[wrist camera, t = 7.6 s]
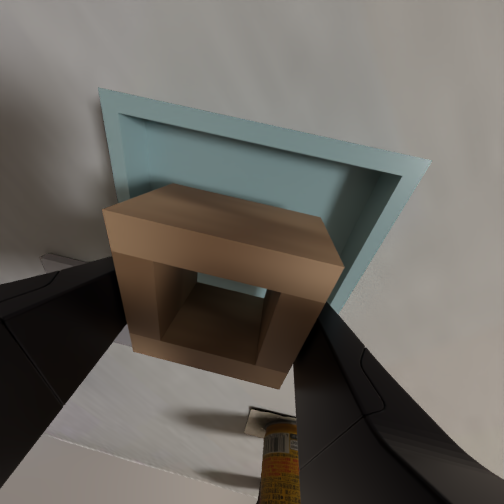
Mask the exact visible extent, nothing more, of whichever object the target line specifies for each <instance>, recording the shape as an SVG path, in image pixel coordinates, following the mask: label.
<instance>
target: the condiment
mask: <svg viewBox="0 0 504 504" xmlns="http://www.w3.org/2000/svg"><path fill="white" fill-rule="evenodd" d="M277 417H278V418H277ZM261 428H263V429H261ZM244 433H245V434H249V435H253V436H257V437H259V438H264V447H263V461H262V472H261V490H260V502H259V504H301V499H300V481H299V471H300V470H299V460H298V442H297V423H296V418H290V417H282V416H280V415H276V414H273V413H269V412H259V411H257V410H252V409H251V412H250V415H249V418H248V421H247V424H246V427H245V431H244Z"/></svg>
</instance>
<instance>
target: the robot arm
mask: <svg viewBox="0 0 504 504" xmlns="http://www.w3.org/2000/svg"><path fill="white" fill-rule="evenodd" d="M126 324H127V321H126V316H125V312H124V307H123V302H122V298H121V293H120V289H119V284H118V280H117V275H116V271H115V266H114V262H113V257H112V256H111V257H107V258H104V259H100V260H96V261H92V262H88V263H85V264H81V265H77V266H73V267H69V268H66V269H62V270H61V271H59V270H58V271H54V272H50V273H47V274H43V275H39V276H35V277H31V278H27V279H23V280H18V281H14V282H10V283H5V284H1V285H0V488H1V487H2V486H3V484H4V483H5V482H6V481H7V479H8V478H9V476H10V475H11V474H12V473H13V471H14V470H15V469H16V468H17V466H18V465H19V464H20V462H21V461H22V460H23V459H24V457H25V456H26V454H27V453H28V452H29V451H30V449H31V448H32V447H33V445H34V444H35V443H36V442H37V440H38V439H39V438H40V436H41V435H42V434H43V433H44V431H45V430H46V429H47V427H48V426H49V425H50V423H51V422H52V421H53V420H54V418H55V417H56V416H57V414H58V413H59V412H60V410H61V409H62V408H63V405H65V404H66V402H67V401H68V400H69V398H70V397H71V396H72V395H73V393H74V392H75V391H76V389H77V388H78V387H79V385H80V384H81V383H82V382H83V380H84V379H85V378H86V376H87V375H88V374H89V372H90V371H91V370H92V369H93V367H94V366H95V365H96V363H97V362H98V361H99V359H100V358H101V357H102V356H103V354H104V353H105V352H106V350H107V349H108V348H109V347H110V345H111V344H112V343H113V341H114V340H115V339H116V337H117V336H118V335H119V334H120V332H121V331H122V330H123V328H124V327H125V326H126ZM293 368H294V387H295V405H296V423H297V442H298V460H299V470H300V471H299V481H300V499H301V504H504V480H503V479H502V478H500V477H499V476H497V475H495V474H494V473H492V472H491V471H489V470H488V469H487V468H485V467H484V466H482V465H481V464H479V463H478V462H477V461H476V460H474V459H473V458H472V457H471V456H469V455H468V454H467V453H466V452H465V451H464V450H463V449H461V448H460V447H459V446H458V445H457V444H456V443H455V442H454V441H453V440H452V439H451V438H450V437H449V436H448V435H447V434H446V433H445V432H444V431H443V430H442V429H441V428H440V427H439V426H438V425H437V424H436V422H435V421H434V420H433V419H432V418H431V417H430V416H429V415H428V414H427V413H426V412H425V411H424V410H423V409H422V408H421V407H420V406H419V405H418V404H417V403H416V402H415V401H414V400H413V399H412V398H411V396H410V395H409V394H408V393H407V392H406V391H405V390H404V389H403V388H402V387H401V386H400V385H399V384H398V383H397V382H396V381H395V380H394V378H393V377H392V376H391V375H390V374H389V373H388V372H387V371H386V370H385V369H384V367H383V366H382V365H381V364H380V363H379V362H378V361H377V360H376V358H375V357H374V356H373V355H372V354H371V353H370V351H369V350H368V349H367V348H365V346H364V344H363V343H362V342H361V341H360V340H359V339H358V337H357V336H356V335H355V334H354V333H353V331H352V330H351V329H350V328H349V327H348V326H347V324H346V323H345V322H344V321H343V320H342V319H341V317H340V316H339V315H338V314H337V313H336V311H335V310H334V309H333V308H332V307H331V306H330V304H329V303H328V302H327V301H326V303H325V305H324V307H323V309H322V310H321V312H320V314H319V316H318V318H317V320H316V322H315V324H314V325H313V327H312V329H311V331H310V333H309V335H308V337H307V338H306V340H305V342H304V344H303V346H302V348H301V350H300V351H299V353H298V355H297V357H296V359H295V361H294V363H293Z"/></svg>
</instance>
